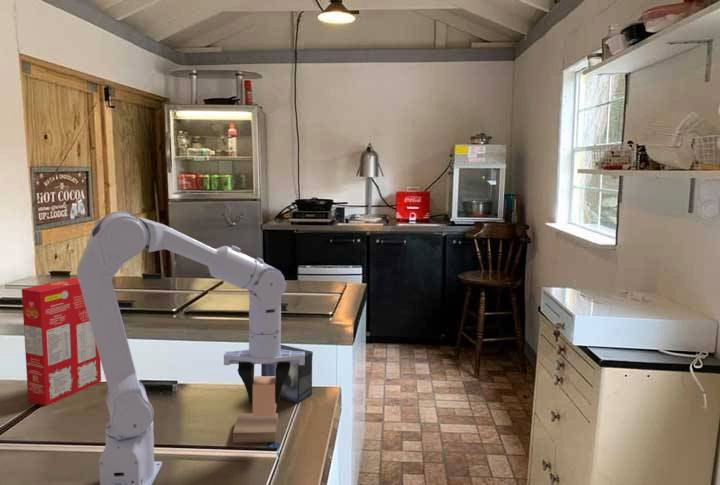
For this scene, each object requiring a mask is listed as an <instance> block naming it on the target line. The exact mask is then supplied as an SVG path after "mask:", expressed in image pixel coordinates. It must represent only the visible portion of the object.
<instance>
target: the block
mask: <svg viewBox="0 0 720 485" xmlns="http://www.w3.org/2000/svg"><path fill="white" fill-rule="evenodd" d="M275 393H276V376H261V375H260V376H256V375H254V382H253V403H252V413H253V416H275V413H277V412H276V411H277V403H275Z"/></svg>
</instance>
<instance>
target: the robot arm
mask: <svg viewBox="0 0 720 485" xmlns="http://www.w3.org/2000/svg"><path fill="white" fill-rule="evenodd" d="M144 249H145V251H147V252H148V253H151V252H157V251H162V250H167V251H169V252H172V253H174V254H177V255H179V256H181V257H184V258H186V259H190V260H192V261H194V262H198V263H199V264H202V265H204V266H207V269H208V271H209V274H210V276H211V277H212V278H215V279H218V280H220V281H222V282H225V283H228V284H229V285H232V286H235V287H237V288H239V289H242V290H248V293H249V296H248V298H249V301H248V302H249V303H248V349H244V350H243V349H242V350H234V351H224V352H225V353H224V354H223V366H231V365H233V364H234V365H238V367H237V373H238V375H239V377H240V378H241V380H242V383H243V385H244V387H245V390H246V393H247V397H248V402H249V404H253V382H254V378H255V365H256V364H257V365H261V364H277V366H276V393H275V403H276V404H279V403H280V400H281V399H280V393H281V389H282V386H283V384H284V381H285V379H286V377H287V375H288V373H289V370H290V364H298V365H304V364H305V352H299V351H290V350H282V349H281V345H282V342H281V339H282V338H281V337H282V336H281V335H282V334H281V333H282V302H281V301H282V296H283V295H284V293H285V291H286V289H287V285H288V283H287V282H286V281H285V276H284V274H283V273H282V271H281V270H279V269H277V268H275V267H273V266H272V265H269V264H267V263H266V262H264V259H262V258H260V257H257V258H254V257H251V256H249V255H247V254H246V253H243V252H241V248H239V247H238V246H235V245H232V244H231V247H230V246H228V245H223V246H220V247H217V248H213V247H211V246H209V245H207V244H205V243H203V242H200V241H199V240H196V239H195V238H193V237H190V236H188V235H186V234H184V233H182V232H179V231H178V230H176V229H173V228H171V227H170V226H168V225H166V224H164V223H161V222H157V221H153V220H150V219H148V218H144V217H140V216H138V217H137V218H136V217H135V216H134V215H132V214H131V213H129V212H126V211H120V210H119V211H118V210H117V211H112V212H110V213H108V214H106V215H105V216H104V217H102V219H101V220H100V221H98V223H97V224H96V225H95V226H94V227H93V228H92V229H91V232H90V235H89V238H88V241H87V243H86V245H85V248H84V250H83V253H82V255H81V257H80V259H79V261H78V265H77V267H76V278H77V277H78V281H79V284H80V288H81V291H82V295H83V299H84V302H85V306H86V309H87V313H88V317H89V320H90V324H91V327H92V331H93V335H94V338H95V342H96V346H97V349H98V353H99V356H100V363H101V367H102V370H103V374H104V377H105V381H106V385H107V393H106V397H105V404H106V407H107V408H108V413H109V420H108V422H107V424H105V429H104V430H105V445H104V448H103V451H102V453H101V454H100V457H99V460H98V470H99V472H98V473H99V485H153V483H154V481H155V479H156V477H157V475H158V473H159V471H160V469H161V467H162V465H163V461H155V435H154V416H155V413H154V412H155V411H154V408H153V406H152V404H151V403H150V401H149V400H150V399H149V398H148V396H147V391H146V388H145V385H144V384H143V383H141V381H140V380H139V378H138V375H137V371H136V368H135V364H134V363H135V362H134V360H133V357H132V352H131V348H130V344H129V340H128V337H127V333H126V330H125V329H126V328H125V326H124V322H123V318H122V315H121V310H120V307H119V306H120V305H119V302H118V299H117V295H116V291H115V287H114V282H113V278H114V277H115V275H116V274H118V272H119V270H120V269H121V268H122V267H123V265H124V264H126V263H127V262H128V261H130V260H131V259H133V258H134V257H136V256H138V255H139V254H140V253H141V252H143V250H144Z"/></svg>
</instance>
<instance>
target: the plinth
mask: <svg viewBox="0 0 720 485" xmlns="http://www.w3.org/2000/svg"><path fill="white" fill-rule="evenodd" d="M278 426H279V412H275V416H253V412H252V413H238V414H237V418H236V421H235V425H234V426H233V427H234V428H233V432H232V444H239V443H240V444H241V443H244V444H245V443H276V442H277V432H278V428H279V427H278Z"/></svg>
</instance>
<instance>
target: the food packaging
mask: <svg viewBox="0 0 720 485" xmlns="http://www.w3.org/2000/svg"><path fill="white" fill-rule="evenodd" d="M21 299H22V312H23V313H22V316H23V331H24V332H23V333H24V334H23V335H24V349H25V352H24V354H25V362H26V363H25V371H26V382H27V383H26V385H27V402H29V403H33V404H37V405H40V406H45V407H47V406H49V405H51V404H55V402H58V401H61V400H62V399H65V398H67V397H69V396H71V395H74V394H77V393H79V392H80V391H82V390H84V389H85V390H86V389H87V388H89V387H91V386H93V385H96V384H98V383H100V382H102V371H101V370H102V368H101V367H102V364H101V360H100V356H99V353H98V349H97V346H96V342H95V338H94V335H93V331H92V327H91V324H90V320H89V317H88V313H87V309H86V306H85V302H84V299H83V295H82V291H81V288H80V284H79V281H78V277H77V276H76V277H73V278H68V279H64V280H58V281H54V282H50V283H49V282H48V283H43V284H40V285H35V286H30V287H26V288H22V289H21Z"/></svg>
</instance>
